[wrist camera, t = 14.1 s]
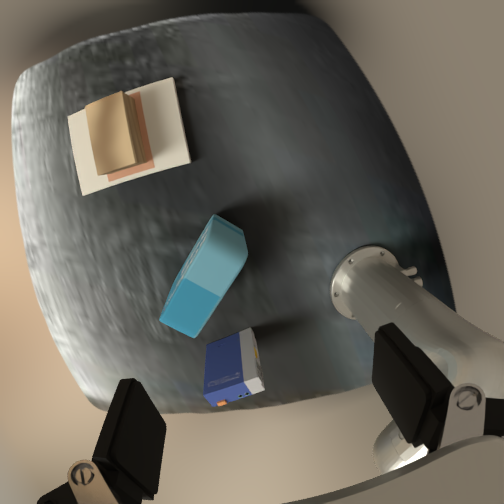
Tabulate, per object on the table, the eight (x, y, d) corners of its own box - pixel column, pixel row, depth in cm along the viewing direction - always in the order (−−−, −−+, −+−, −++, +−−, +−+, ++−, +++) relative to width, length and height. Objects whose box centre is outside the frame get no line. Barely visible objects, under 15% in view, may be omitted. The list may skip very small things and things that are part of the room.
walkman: (214, 356, 45) (213, 409, 34) (206, 344, 44) (202, 397, 33) (257, 339, 45) (267, 391, 34) (251, 327, 44) (259, 378, 33)
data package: (214, 211, 38) (209, 233, 27) (243, 228, 39) (250, 256, 28) (173, 282, 41) (156, 325, 29) (200, 296, 42) (192, 344, 30)
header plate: (174, 80, 32) (172, 77, 30) (191, 162, 36) (189, 162, 34) (72, 118, 32) (67, 116, 30) (87, 194, 35) (82, 196, 34)
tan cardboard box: (134, 99, 31) (121, 91, 26) (146, 162, 34) (135, 162, 29) (101, 111, 31) (84, 106, 26) (113, 173, 34) (97, 175, 29)
